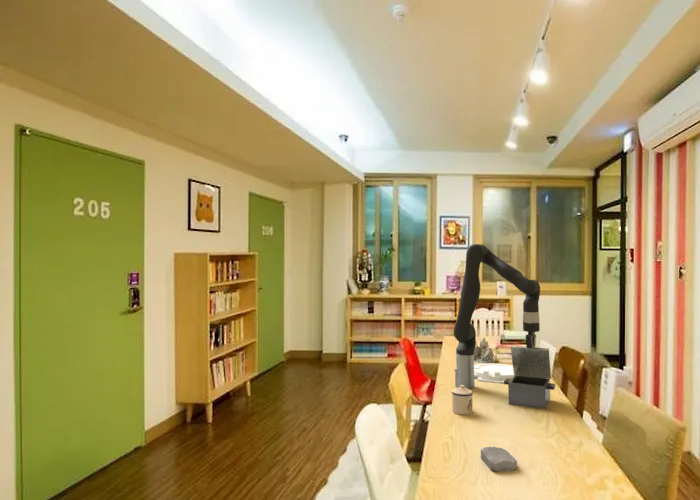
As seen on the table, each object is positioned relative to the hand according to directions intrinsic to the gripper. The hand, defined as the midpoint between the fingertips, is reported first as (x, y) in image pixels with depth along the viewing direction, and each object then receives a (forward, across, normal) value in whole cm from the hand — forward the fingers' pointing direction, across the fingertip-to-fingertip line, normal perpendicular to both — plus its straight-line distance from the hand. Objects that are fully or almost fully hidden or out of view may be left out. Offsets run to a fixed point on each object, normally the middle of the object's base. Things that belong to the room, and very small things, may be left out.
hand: (531, 357), depth 237 cm
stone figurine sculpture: (+20, -73, -42) cm, 87 cm away
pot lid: (0, +4, 0) cm, 4 cm away
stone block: (+20, +84, +1) cm, 86 cm away
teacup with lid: (+20, +34, -25) cm, 47 cm away
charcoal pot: (+20, +8, 0) cm, 21 cm away
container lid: (+20, -39, -25) cm, 50 cm away
